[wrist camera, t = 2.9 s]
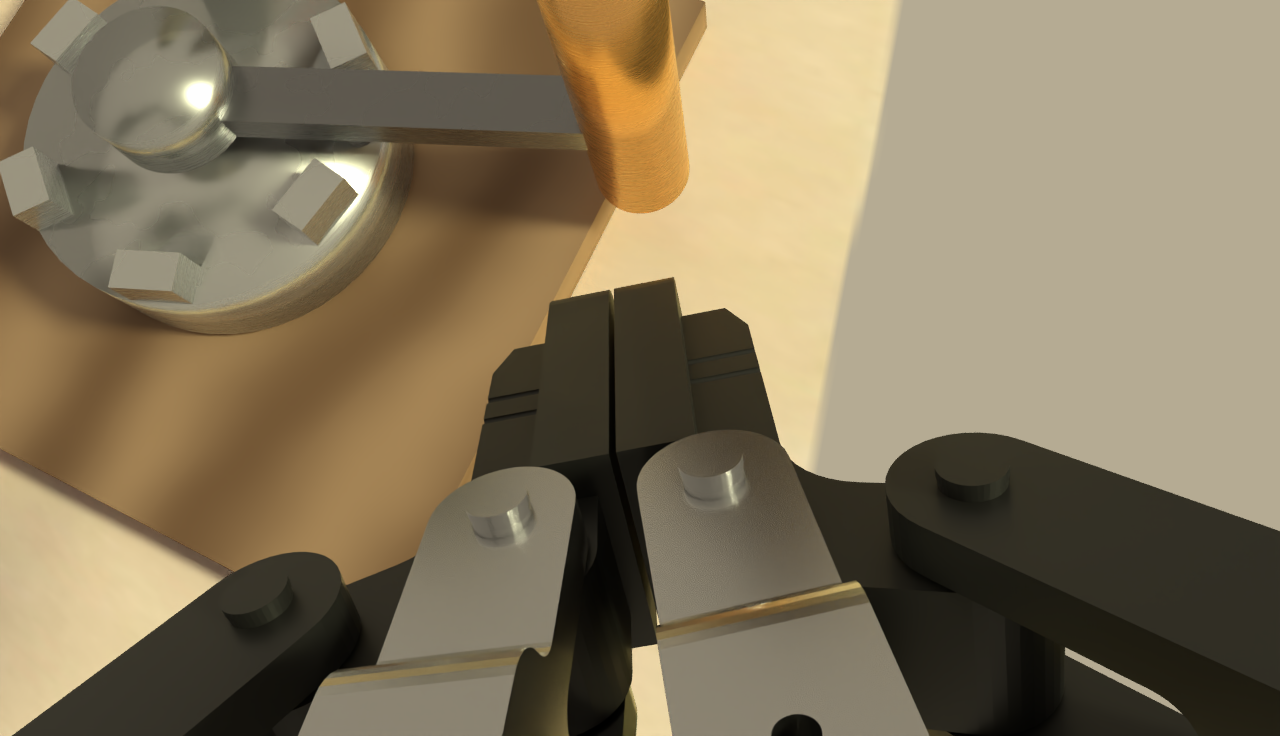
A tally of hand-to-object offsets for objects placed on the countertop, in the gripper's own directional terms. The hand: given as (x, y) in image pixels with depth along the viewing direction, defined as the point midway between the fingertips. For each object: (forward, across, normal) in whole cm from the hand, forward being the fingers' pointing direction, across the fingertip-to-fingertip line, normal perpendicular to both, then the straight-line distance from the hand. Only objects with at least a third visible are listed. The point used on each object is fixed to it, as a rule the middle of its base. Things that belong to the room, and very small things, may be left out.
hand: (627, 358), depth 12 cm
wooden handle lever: (+23, +9, +3) cm, 25 cm away
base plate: (+25, +14, +4) cm, 29 cm away
